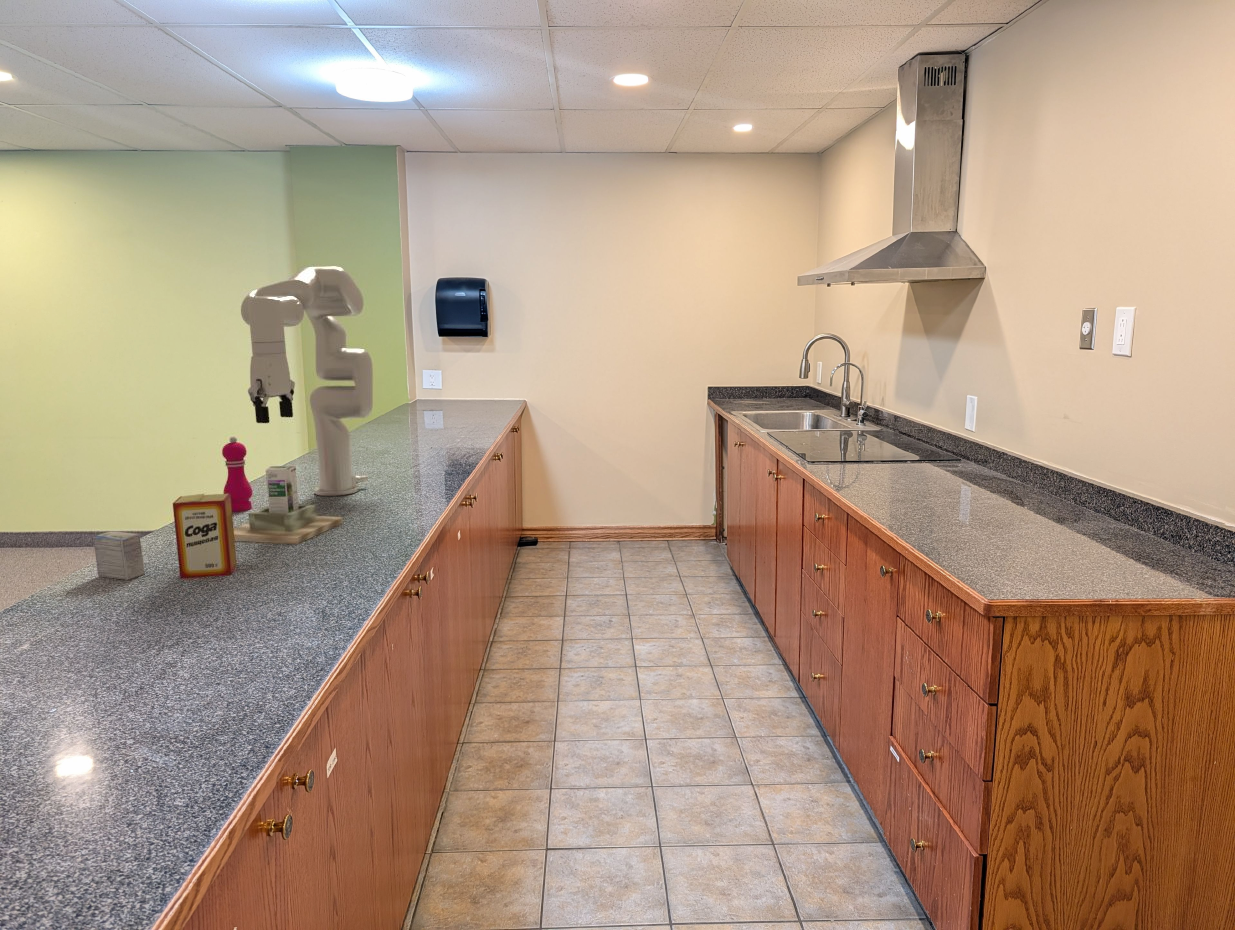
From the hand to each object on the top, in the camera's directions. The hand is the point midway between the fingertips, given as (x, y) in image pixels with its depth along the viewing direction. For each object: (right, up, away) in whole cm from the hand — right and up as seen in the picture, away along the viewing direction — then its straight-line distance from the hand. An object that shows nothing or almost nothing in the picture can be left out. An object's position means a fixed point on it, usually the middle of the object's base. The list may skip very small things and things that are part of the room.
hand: (275, 419), depth 204 cm
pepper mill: (-20, -23, +25) cm, 39 cm away
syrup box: (+2, -26, +1) cm, 26 cm away
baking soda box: (-1, -33, -31) cm, 46 cm away
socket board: (+2, -27, +1) cm, 27 cm away
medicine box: (-18, -34, -33) cm, 51 cm away
